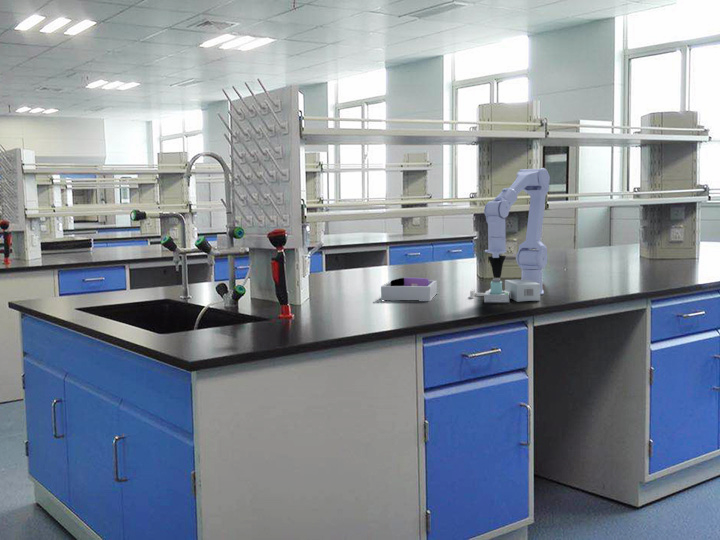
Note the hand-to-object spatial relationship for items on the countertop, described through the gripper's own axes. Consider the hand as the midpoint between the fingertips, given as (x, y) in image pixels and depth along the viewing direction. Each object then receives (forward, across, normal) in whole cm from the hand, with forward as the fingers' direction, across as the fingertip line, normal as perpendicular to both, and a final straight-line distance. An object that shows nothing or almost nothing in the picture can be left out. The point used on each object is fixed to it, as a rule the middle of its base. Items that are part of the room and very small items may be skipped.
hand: (497, 277), depth 254 cm
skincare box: (+5, +1, +10) cm, 11 cm away
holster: (+8, -9, -6) cm, 13 cm away
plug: (+8, 0, 0) cm, 8 cm away
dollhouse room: (+8, -7, -31) cm, 33 cm away
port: (+8, 0, 0) cm, 8 cm away
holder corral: (+8, -7, -31) cm, 33 cm away
